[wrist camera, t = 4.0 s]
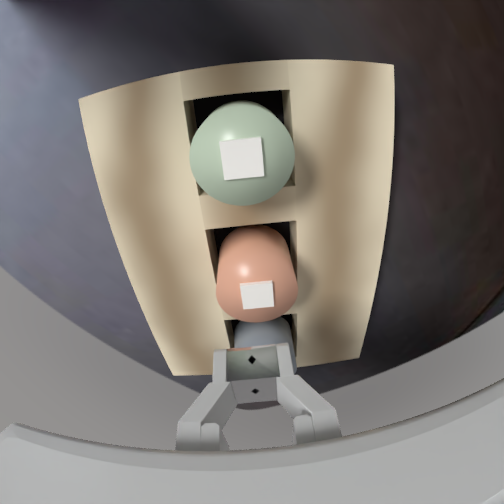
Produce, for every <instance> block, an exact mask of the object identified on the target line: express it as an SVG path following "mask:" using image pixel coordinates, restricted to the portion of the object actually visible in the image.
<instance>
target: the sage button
mask: <svg viewBox="0 0 504 504" xmlns="http://www.w3.org/2000/svg"><path fill="white" fill-rule="evenodd" d="M189 159H190V166H191V170H192V173H193V176H194V178H195V180H196V181H197V183H198V184H199V186H200V187H201V188H202V189H203V190H204V191H205V192H206V193H207V194H208V195H210V196H211V197H213V198H214V199H216V200H218V201H220V202H223V203H226V204H230V205H237V206H247V205H254V204H257V203H261V202H263V201H265V200H267V199H269V198H271V197H272V196H274V195H275V194H276V193H278V192H279V191H280V190H281V189H282V188H283V186H284V185H285V184H286V183H287V181H288V179H289V178H290V175H291V173H292V170H293V167H294V161H295V151H294V145H293V141H292V138H291V136H290V134H289V132H288V131H287V129H286V128H285V126H284V125H283V124H282V123H281V122H280V121H279V119H278V118H277V117H276V116H275V115H274V114H273V113H272V112H271V111H270V110H268V109H267V108H266V107H264V106H262V105H260V104H258V103H255V102H252V101H246V100H237V101H232V102H228V103H226V104H223V105H221V106H220V107H218V108H217V109H215V110H214V111H213V112H212V113H211V114H210V115H209V116H208V117H207V119H206V120H205V121H204V122H203V123H202V125H201V126H200V127H199V128H198V130H197V131H196V133H195V135H194V137H193V140H192V143H191V146H190V154H189Z"/></svg>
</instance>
